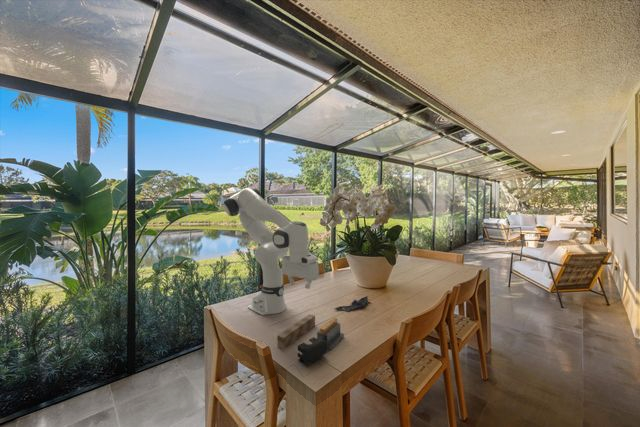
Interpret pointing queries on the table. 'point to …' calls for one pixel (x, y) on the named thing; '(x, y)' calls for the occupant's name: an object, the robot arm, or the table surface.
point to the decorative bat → (354, 304)
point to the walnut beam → (295, 331)
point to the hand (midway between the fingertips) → (299, 286)
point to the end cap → (311, 350)
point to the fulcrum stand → (330, 333)
